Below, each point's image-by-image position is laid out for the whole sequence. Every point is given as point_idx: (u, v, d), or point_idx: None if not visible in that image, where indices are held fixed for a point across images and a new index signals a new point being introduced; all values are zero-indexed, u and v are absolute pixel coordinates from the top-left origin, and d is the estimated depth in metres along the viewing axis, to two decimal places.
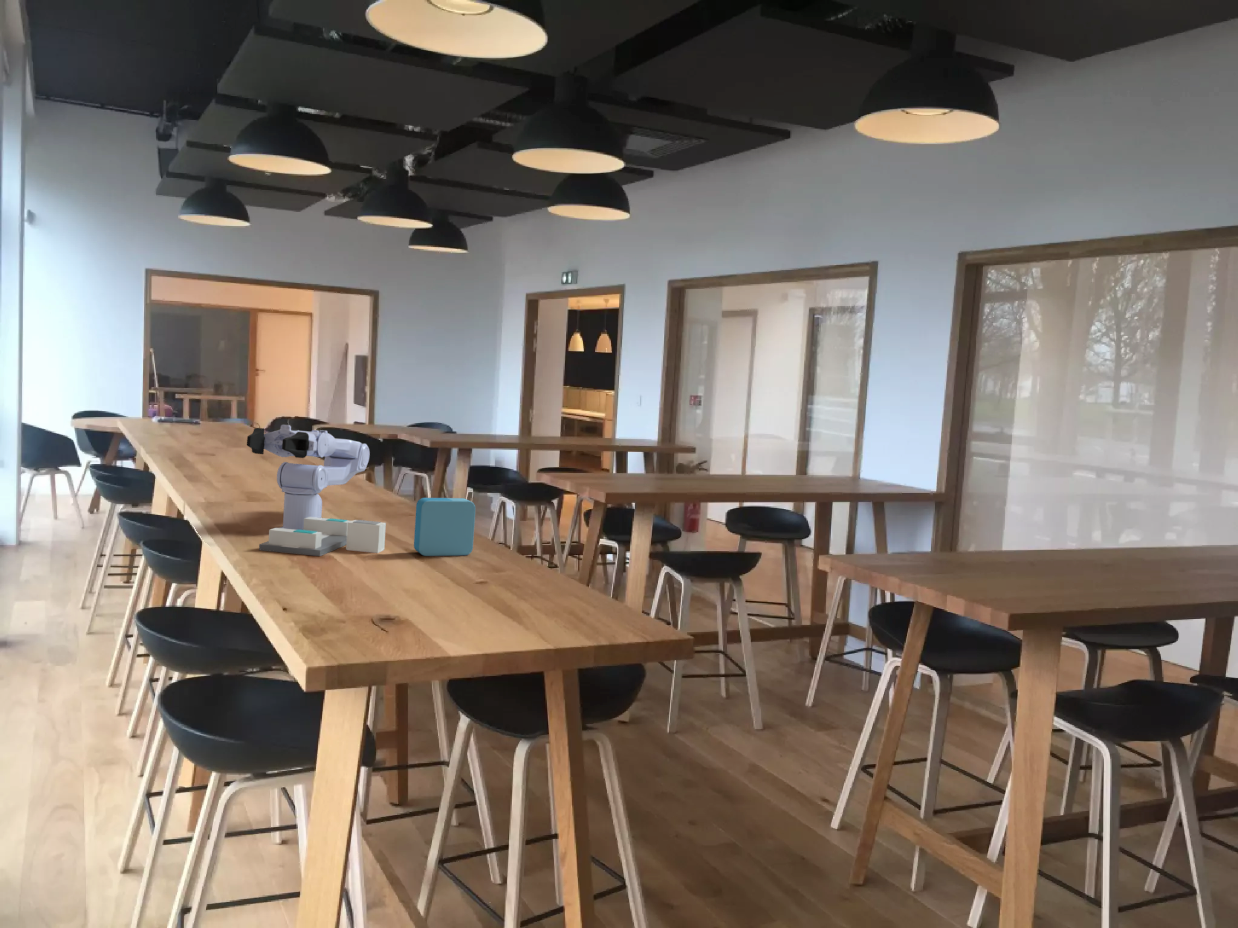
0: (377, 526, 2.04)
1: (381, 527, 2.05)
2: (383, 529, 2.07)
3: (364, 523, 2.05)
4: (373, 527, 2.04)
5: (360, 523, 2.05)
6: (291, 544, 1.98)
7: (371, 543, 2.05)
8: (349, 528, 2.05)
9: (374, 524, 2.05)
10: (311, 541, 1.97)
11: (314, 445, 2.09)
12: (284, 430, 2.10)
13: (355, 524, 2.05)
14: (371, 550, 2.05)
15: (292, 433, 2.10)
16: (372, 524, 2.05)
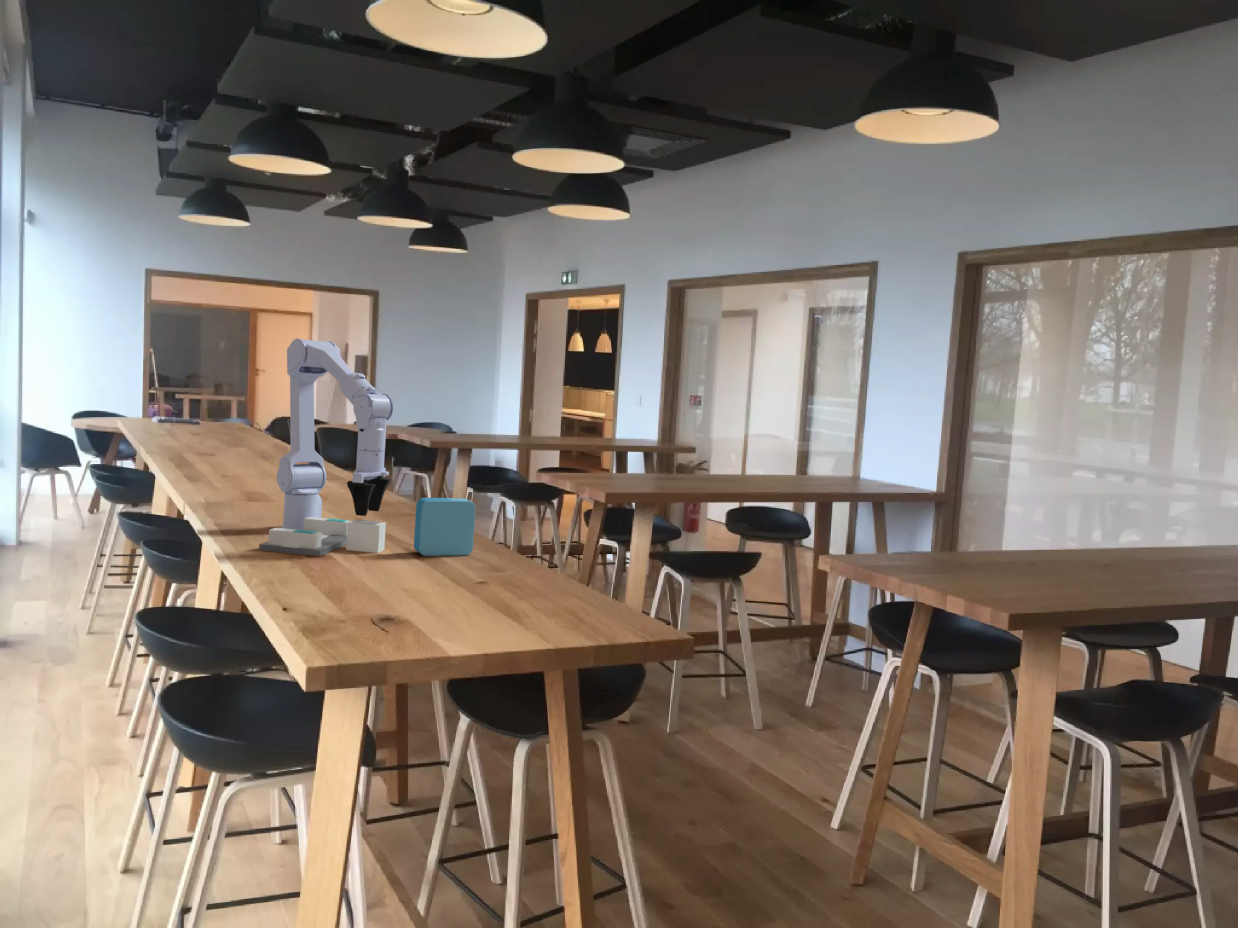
0: (377, 526, 2.04)
1: (381, 527, 2.05)
2: (383, 529, 2.07)
3: (364, 523, 2.05)
4: (373, 527, 2.04)
5: (360, 523, 2.05)
6: (291, 544, 1.98)
7: (371, 543, 2.05)
8: (349, 528, 2.05)
9: (374, 524, 2.05)
10: (311, 541, 1.97)
11: None
12: None
13: (355, 524, 2.05)
14: (371, 550, 2.05)
15: None
16: (372, 524, 2.05)
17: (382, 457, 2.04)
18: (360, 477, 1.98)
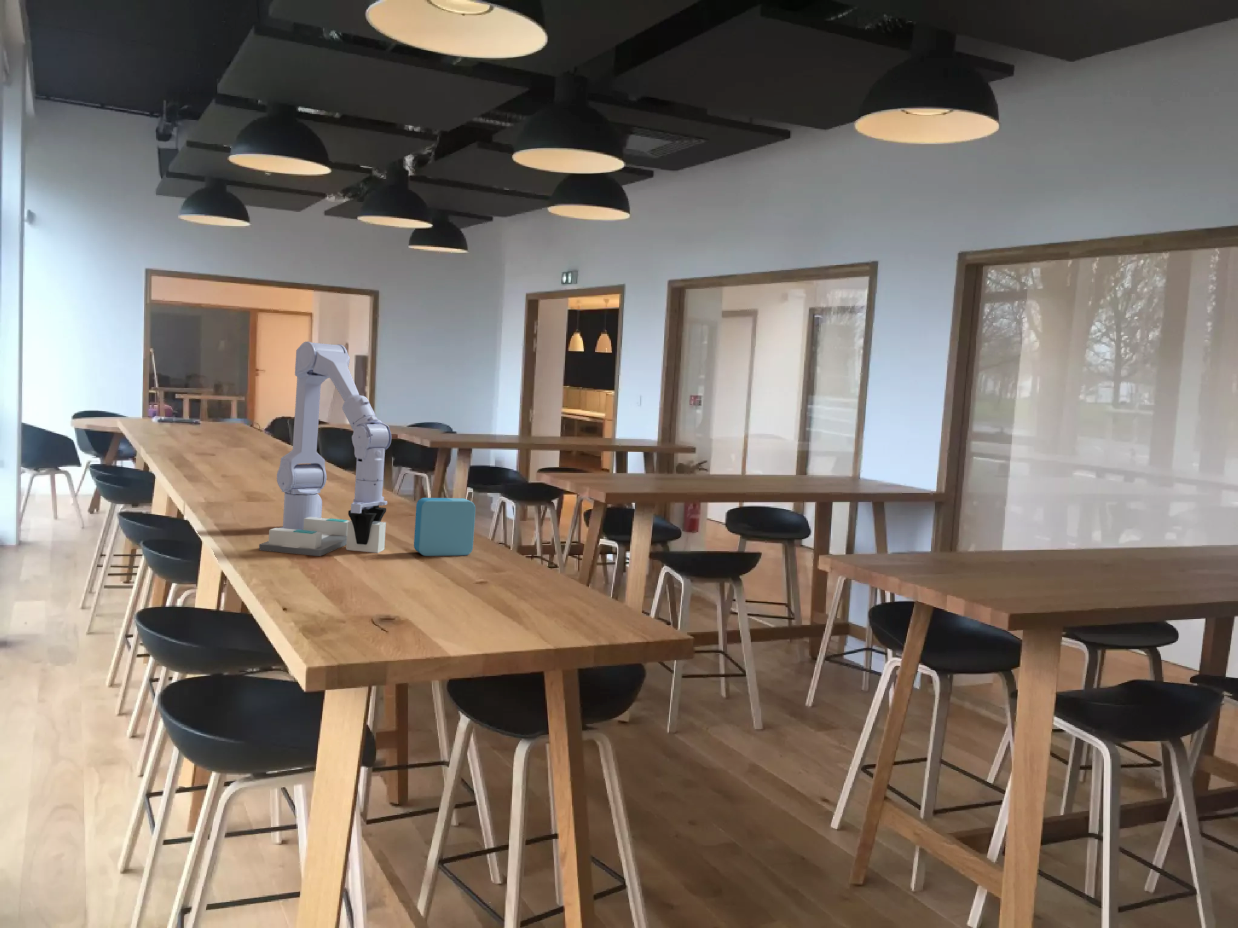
0: (377, 526, 2.04)
1: (381, 526, 2.05)
2: (383, 529, 2.07)
3: None
4: (373, 527, 2.04)
5: None
6: (291, 544, 1.98)
7: (371, 542, 2.05)
8: (349, 528, 2.05)
9: (374, 524, 2.05)
10: (311, 541, 1.97)
11: None
12: None
13: None
14: (371, 550, 2.05)
15: None
16: (372, 524, 2.05)
17: (380, 487, 2.05)
18: (358, 507, 1.99)
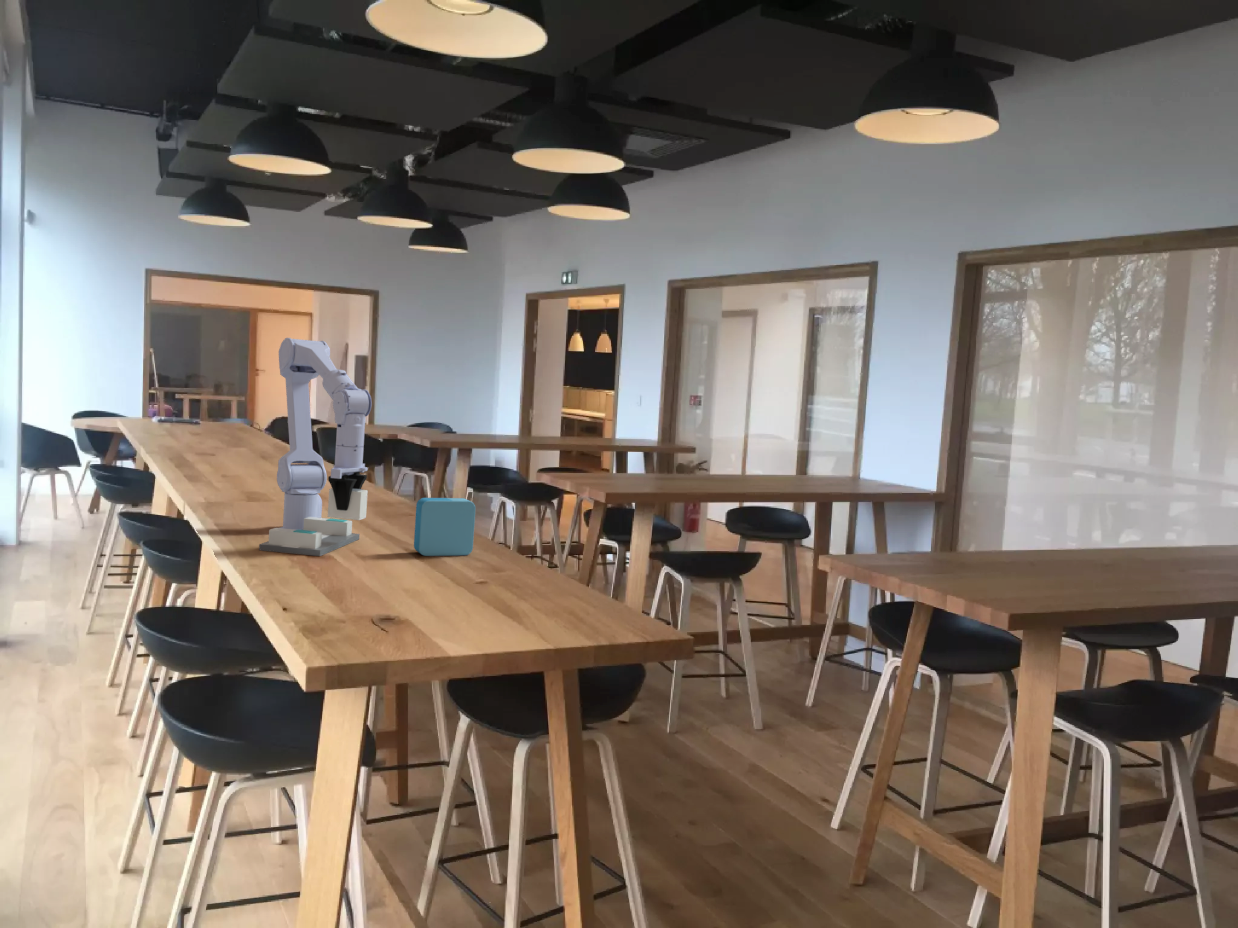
0: (359, 493, 2.04)
1: (362, 494, 2.05)
2: (365, 496, 2.07)
3: None
4: (355, 494, 2.04)
5: None
6: (291, 544, 1.98)
7: (352, 510, 2.05)
8: (331, 495, 2.05)
9: (356, 491, 2.05)
10: (311, 541, 1.97)
11: None
12: None
13: None
14: (352, 517, 2.05)
15: None
16: (354, 491, 2.05)
17: (361, 453, 2.05)
18: (338, 472, 1.99)
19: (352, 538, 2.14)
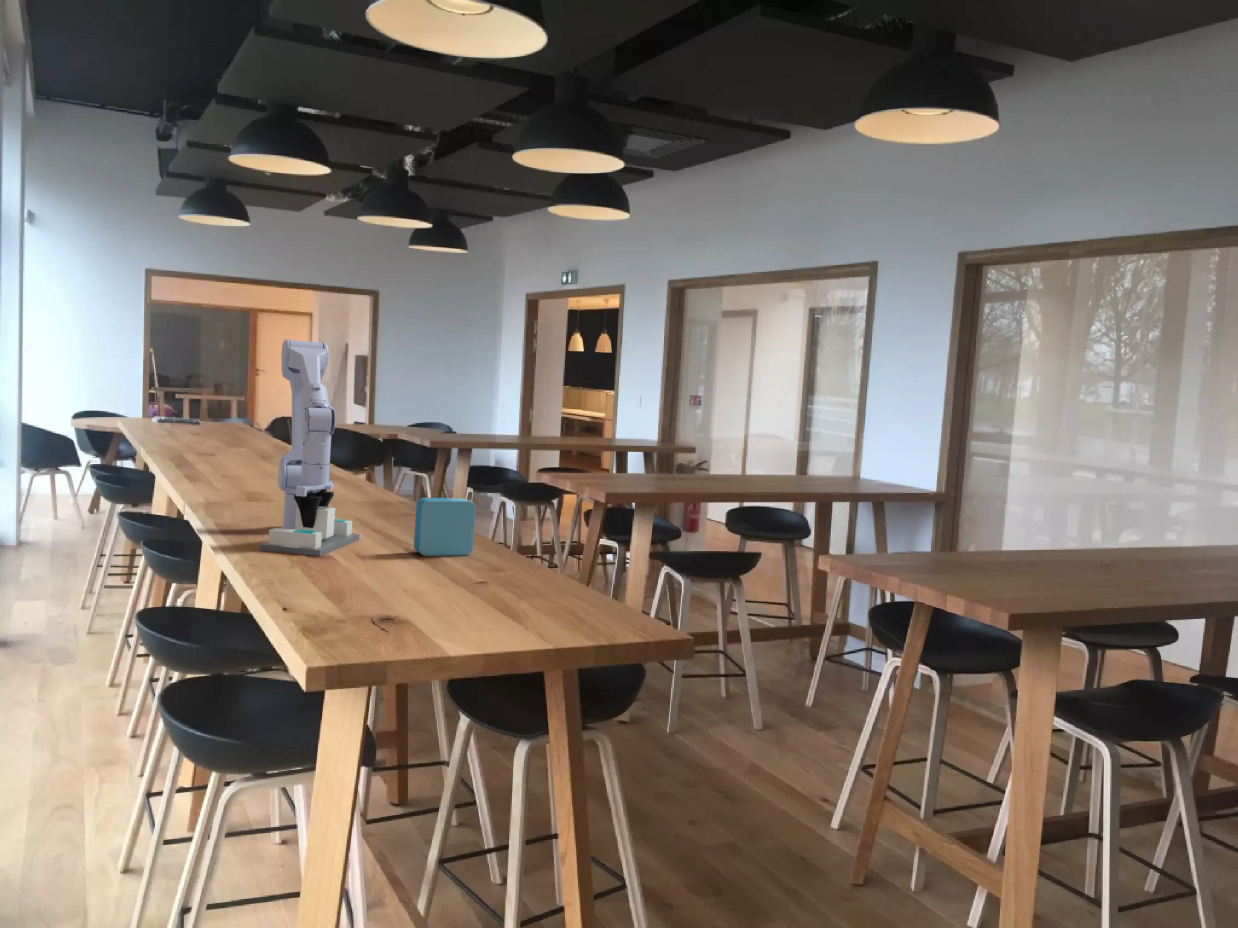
0: (325, 511, 2.05)
1: (329, 512, 2.06)
2: (332, 514, 2.08)
3: None
4: (321, 512, 2.05)
5: None
6: (291, 544, 1.98)
7: (319, 528, 2.05)
8: (298, 513, 2.06)
9: (323, 509, 2.06)
10: (311, 541, 1.97)
11: None
12: None
13: None
14: None
15: None
16: (321, 509, 2.05)
17: (327, 470, 2.06)
18: (303, 490, 2.00)
19: (352, 538, 2.14)
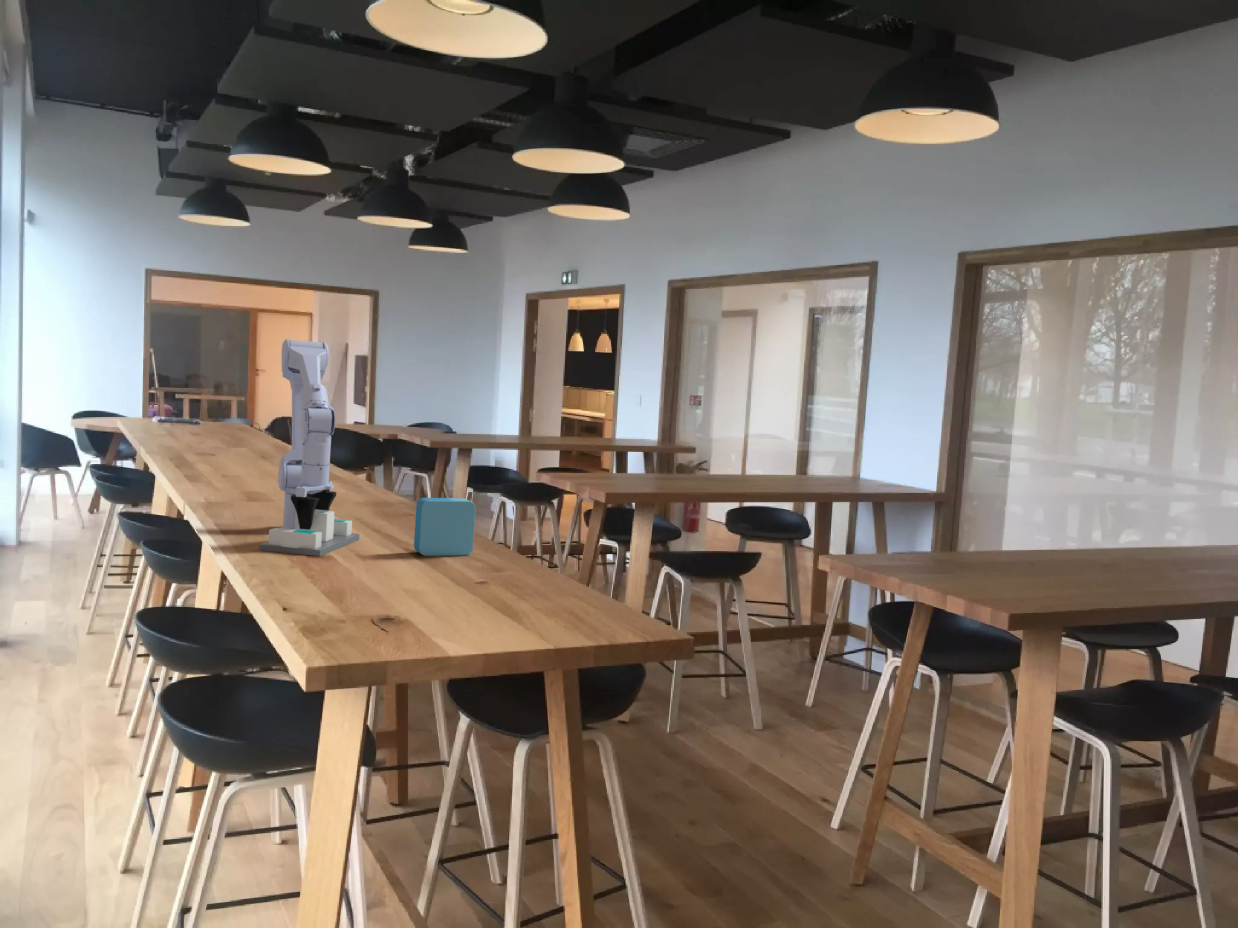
0: (325, 514, 2.05)
1: (328, 515, 2.06)
2: (331, 518, 2.08)
3: None
4: (321, 515, 2.05)
5: None
6: (291, 544, 1.98)
7: (319, 531, 2.05)
8: None
9: (322, 512, 2.06)
10: (311, 541, 1.97)
11: None
12: None
13: None
14: None
15: None
16: (320, 512, 2.06)
17: (326, 471, 2.06)
18: (303, 491, 2.00)
19: (352, 538, 2.14)
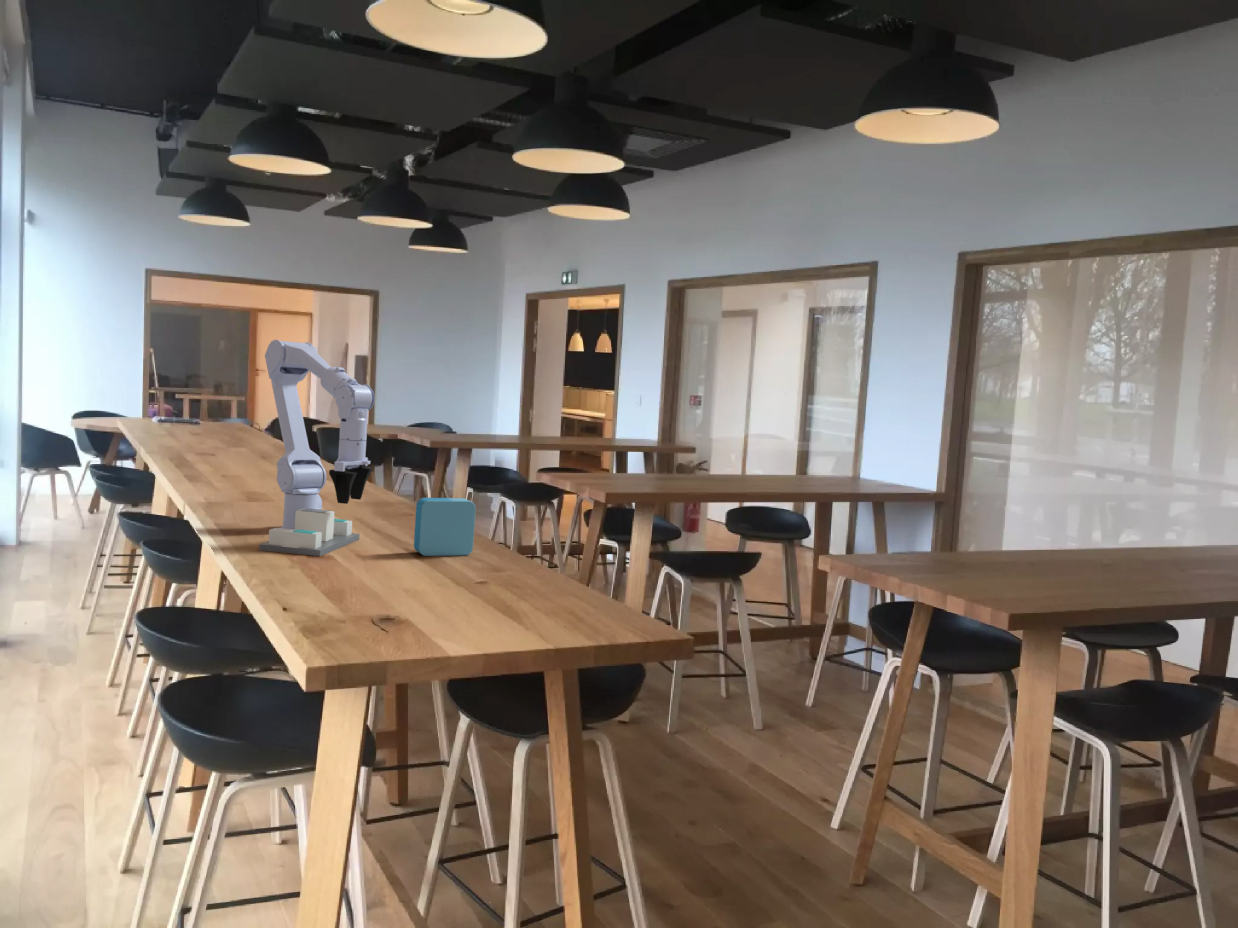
0: (325, 514, 2.05)
1: (328, 515, 2.06)
2: (331, 518, 2.08)
3: (312, 511, 2.06)
4: (321, 515, 2.05)
5: (308, 511, 2.06)
6: (291, 544, 1.98)
7: (319, 531, 2.05)
8: (297, 516, 2.06)
9: (322, 512, 2.06)
10: (311, 541, 1.97)
11: None
12: (363, 464, 2.11)
13: (303, 512, 2.06)
14: None
15: None
16: (320, 512, 2.06)
17: (363, 446, 2.10)
18: (341, 465, 2.04)
19: (352, 538, 2.14)
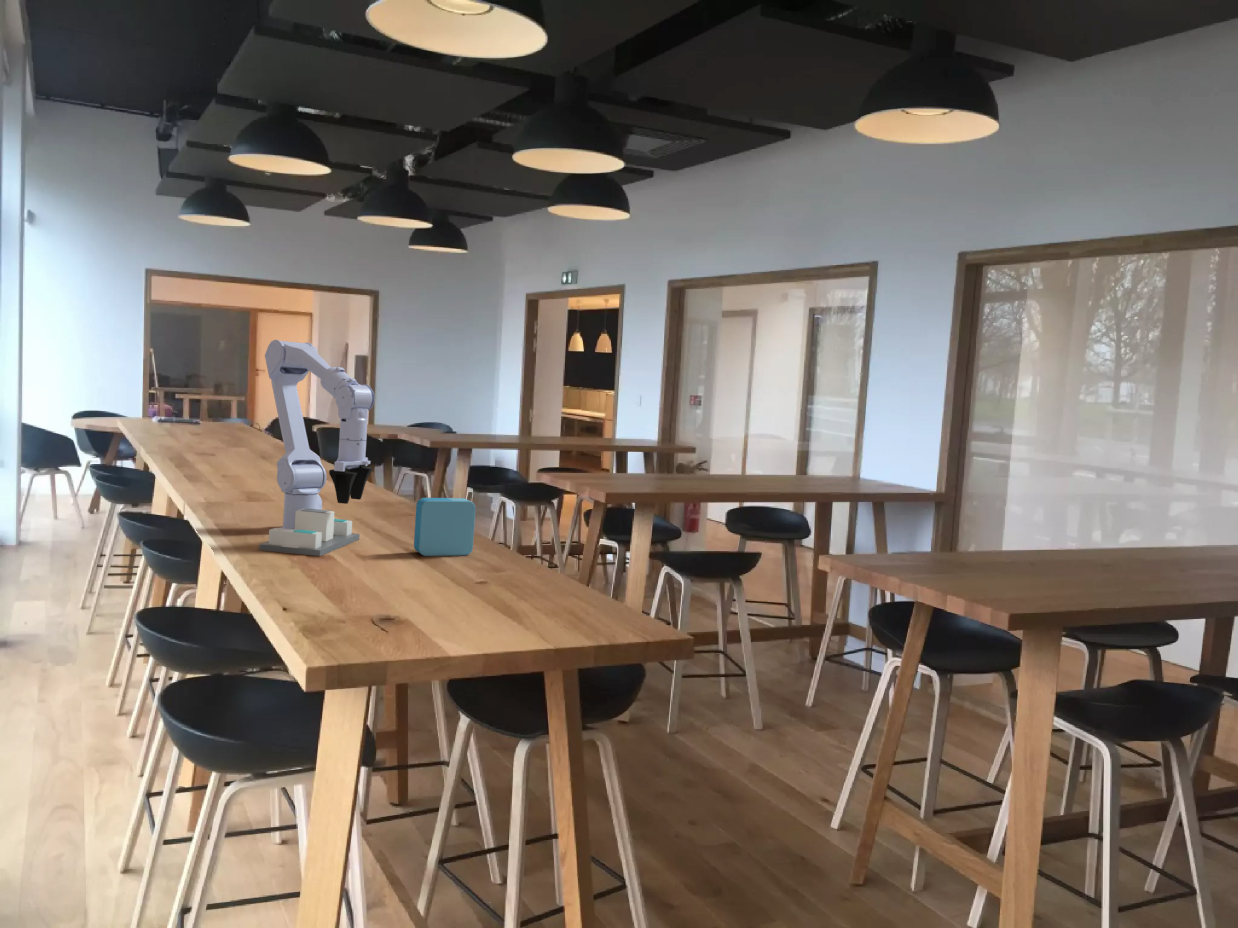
0: (325, 514, 2.05)
1: (328, 515, 2.06)
2: (331, 518, 2.08)
3: (312, 511, 2.06)
4: (321, 515, 2.05)
5: (308, 511, 2.06)
6: (291, 544, 1.98)
7: (319, 531, 2.05)
8: (297, 516, 2.06)
9: (322, 512, 2.06)
10: (311, 541, 1.97)
11: None
12: (363, 464, 2.11)
13: (303, 512, 2.06)
14: None
15: None
16: (320, 512, 2.06)
17: (363, 446, 2.10)
18: (341, 465, 2.04)
19: (352, 538, 2.14)
